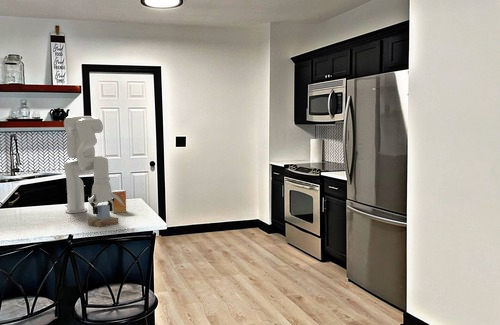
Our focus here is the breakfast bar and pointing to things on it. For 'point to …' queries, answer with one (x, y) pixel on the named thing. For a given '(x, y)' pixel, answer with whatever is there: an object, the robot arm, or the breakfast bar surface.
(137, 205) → the breakfast bar surface
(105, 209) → the blue block
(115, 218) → the walnut slab
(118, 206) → the small box
